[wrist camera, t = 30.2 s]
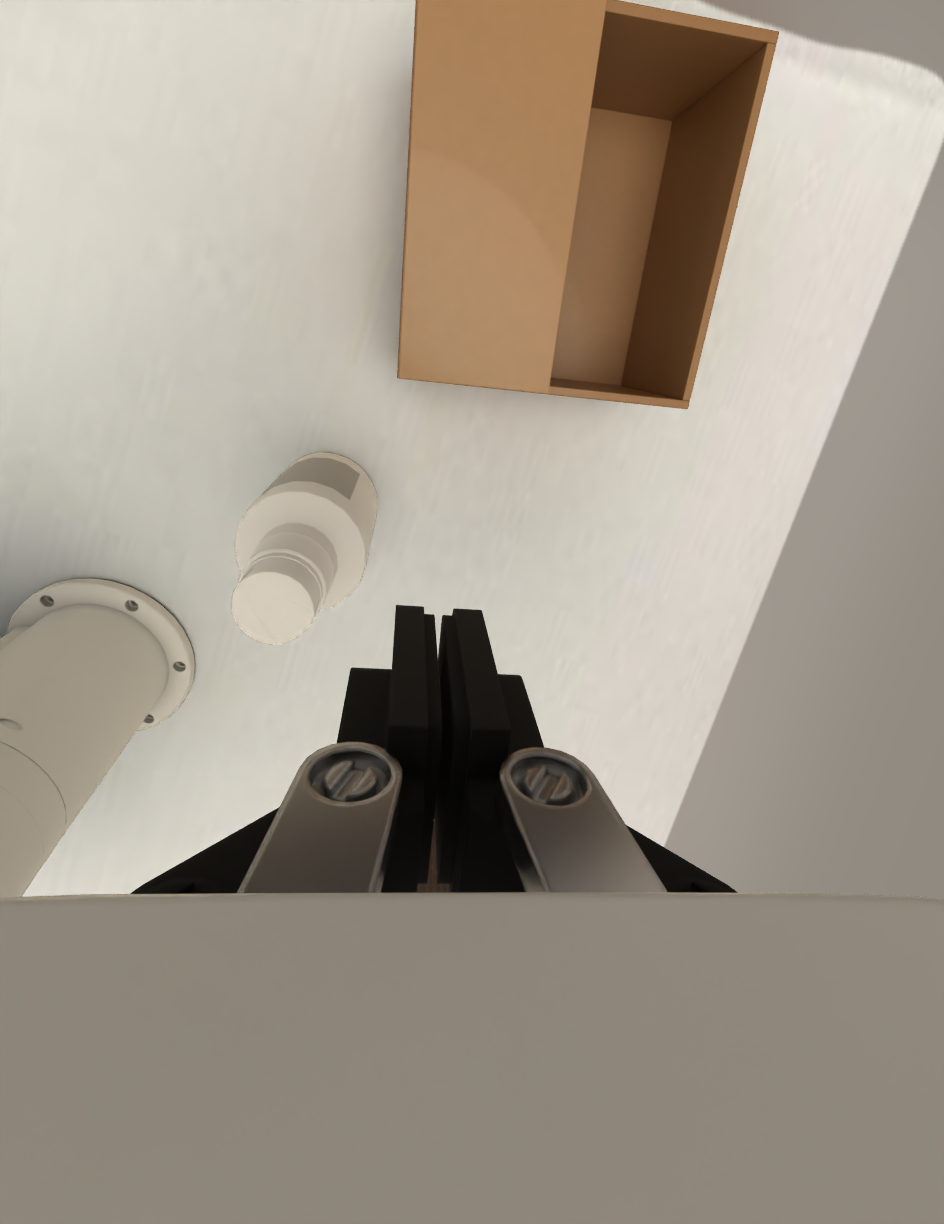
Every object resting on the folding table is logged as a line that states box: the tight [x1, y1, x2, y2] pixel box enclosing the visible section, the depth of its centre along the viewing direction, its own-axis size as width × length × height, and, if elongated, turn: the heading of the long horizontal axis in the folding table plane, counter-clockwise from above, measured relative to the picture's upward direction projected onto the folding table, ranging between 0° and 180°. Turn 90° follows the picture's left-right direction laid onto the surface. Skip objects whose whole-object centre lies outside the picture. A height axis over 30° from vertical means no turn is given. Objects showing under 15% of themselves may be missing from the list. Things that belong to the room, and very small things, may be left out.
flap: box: [398, 0, 607, 394], centre depth 25 cm, size 7×15×1 cm, turn 174°
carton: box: [397, 0, 779, 409], centre depth 31 cm, size 15×15×10 cm
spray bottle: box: [231, 453, 377, 645], centre depth 33 cm, size 7×7×18 cm
